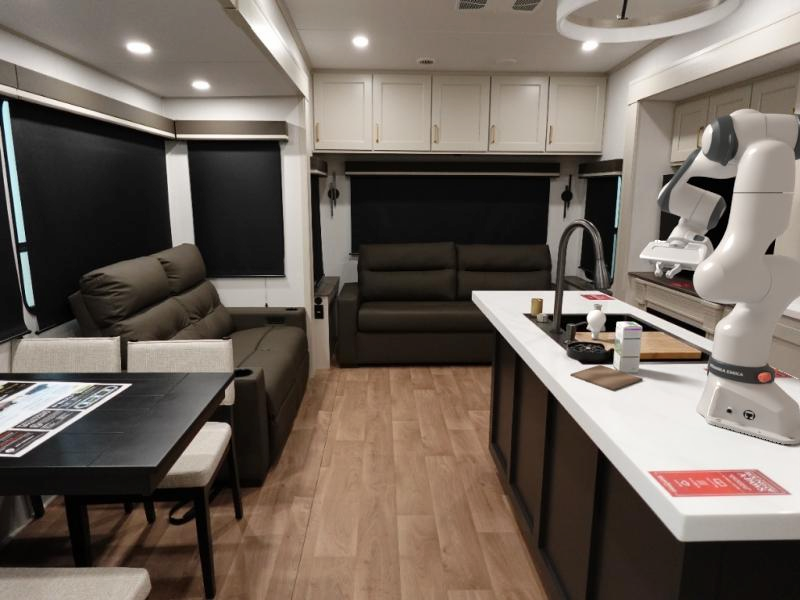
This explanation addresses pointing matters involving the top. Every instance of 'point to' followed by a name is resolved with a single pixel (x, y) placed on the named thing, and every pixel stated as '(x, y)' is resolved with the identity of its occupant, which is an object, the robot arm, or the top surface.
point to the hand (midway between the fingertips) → (662, 276)
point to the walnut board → (606, 377)
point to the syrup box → (627, 347)
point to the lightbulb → (596, 322)
